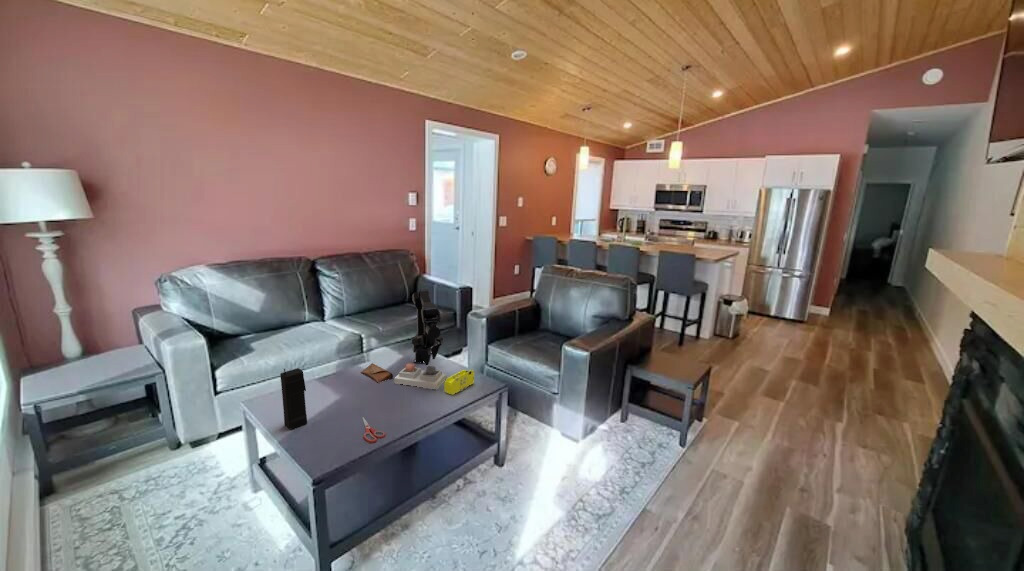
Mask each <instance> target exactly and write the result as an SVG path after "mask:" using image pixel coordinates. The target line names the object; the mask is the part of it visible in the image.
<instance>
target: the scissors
mask: <svg viewBox="0 0 1024 571" xmlns="http://www.w3.org/2000/svg"><path fill="white" fill-rule="evenodd" d="M362 421H363V424H364V428H365V429H364V430H365V433H364V434H363V439H364V441H365V442H367V443H368V444H369V443H370V444H374V442H375V443H376V442H377V441H378V438H380V439H384V438H385V437H386V432H385V431H382V430H376V429H374V428H373V427H372V426H370V424H369V423H368V421H367V420H366V418H365V417H362ZM370 431H371V432H370ZM377 434H381V435H377ZM367 436H369V437H370V436H371V437H370V438H371V439H369V438H368V437H367ZM372 438H373V439H372Z"/></svg>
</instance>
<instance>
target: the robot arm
mask: <svg viewBox="0 0 1024 571" xmlns="http://www.w3.org/2000/svg"><path fill="white" fill-rule="evenodd" d="M411 298H412V302H413V304H414V306H415V307H416V334H415V336H414V337H413V338H411V344H412V345H411V347H412V348H411V351H412V352H413V354H414V353H415V358H414V360H416V362H419V363H418V364H425V366H428V365H429V364H430V362H431V358H432V360H436V357H437V355H438V353H439V351H440V349H441V347H442V344H444V338H443V337H442V336H440V335H441V332H442V331H441V329H440V327H439V325H437V323H440V322H441V321H440V320H441V319H442V318H441V314H440V310H439V308H438V306H437V305H436V304H435V303H433V302H432V300H431V295H430V291H429V289H425V288H423V289H418V290H417V291H414V292H413V294H412V296H411ZM423 361H424V362H425V363H423ZM416 362H415V363H416ZM420 362H421V363H420Z"/></svg>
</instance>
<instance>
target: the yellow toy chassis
mask: <svg viewBox="0 0 1024 571" xmlns="http://www.w3.org/2000/svg"><path fill="white" fill-rule="evenodd" d="M474 383H475V371H474V370H473V369H470V370H466V369H463V370H460V371H459V372H457V373H455V374H453V375H451V376H449V377H446V380H445V381H444V393H447V394H449V395H452V396H454V395H456V394H457V393H458V392H463V390H466V389H467V387H470V386H471V385H472V384H474ZM469 385H470V386H469ZM455 393H456V394H455Z"/></svg>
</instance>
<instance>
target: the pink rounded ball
mask: <svg viewBox="0 0 1024 571" xmlns="http://www.w3.org/2000/svg"><path fill="white" fill-rule="evenodd" d="M405 367H406V372H413V371H415V367H416V365H415V363H414V362H409V363H406V364H405Z"/></svg>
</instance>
